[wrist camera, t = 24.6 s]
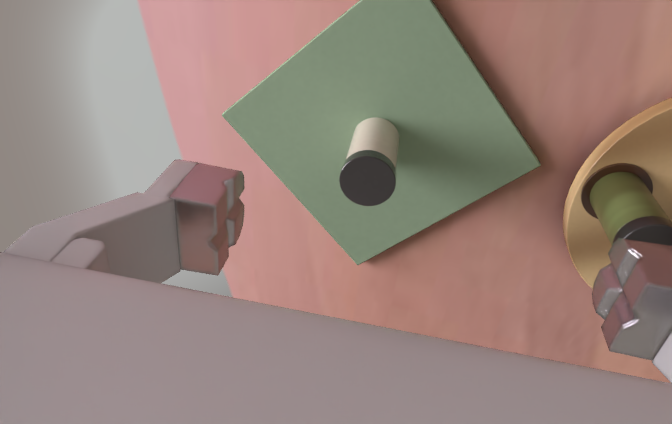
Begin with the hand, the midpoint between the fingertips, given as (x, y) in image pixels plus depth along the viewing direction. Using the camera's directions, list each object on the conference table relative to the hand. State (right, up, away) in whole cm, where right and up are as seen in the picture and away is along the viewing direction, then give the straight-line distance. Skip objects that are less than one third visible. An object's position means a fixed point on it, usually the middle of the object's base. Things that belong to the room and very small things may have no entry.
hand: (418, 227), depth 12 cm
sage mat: (+1, +5, +23) cm, 24 cm away
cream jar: (+1, +5, +23) cm, 23 cm away
